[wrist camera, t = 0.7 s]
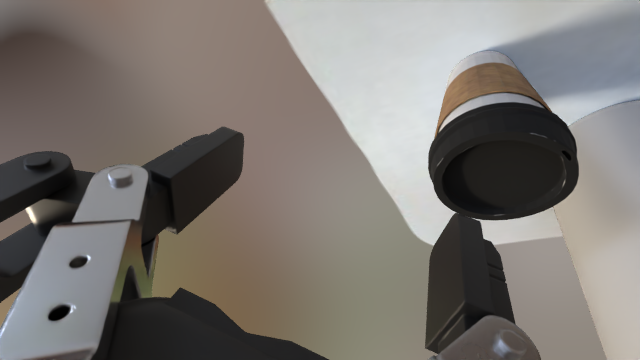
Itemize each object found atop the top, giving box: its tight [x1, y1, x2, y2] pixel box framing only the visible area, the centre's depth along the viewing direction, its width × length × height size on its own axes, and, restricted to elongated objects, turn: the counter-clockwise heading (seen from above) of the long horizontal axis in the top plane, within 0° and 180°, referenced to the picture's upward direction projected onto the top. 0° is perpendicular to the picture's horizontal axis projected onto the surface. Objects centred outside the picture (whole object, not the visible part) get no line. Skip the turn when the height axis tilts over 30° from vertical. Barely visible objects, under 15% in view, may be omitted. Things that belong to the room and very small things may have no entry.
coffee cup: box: [428, 51, 579, 220], centre depth 23 cm, size 8×8×15 cm
